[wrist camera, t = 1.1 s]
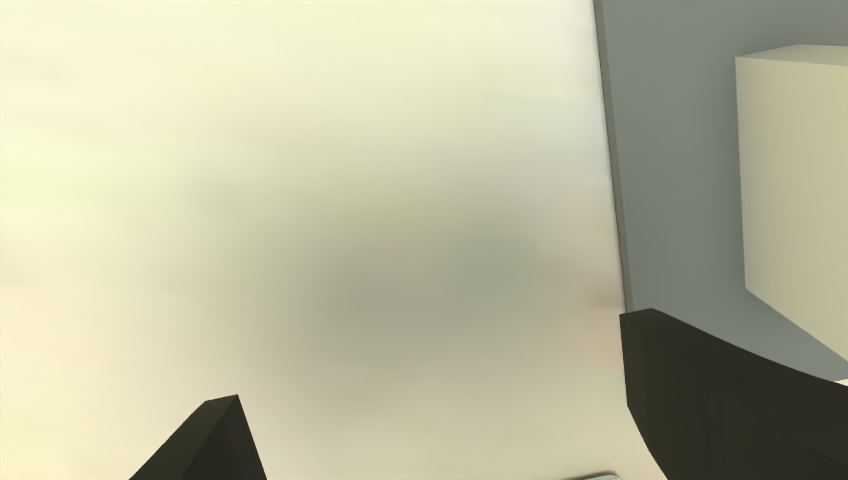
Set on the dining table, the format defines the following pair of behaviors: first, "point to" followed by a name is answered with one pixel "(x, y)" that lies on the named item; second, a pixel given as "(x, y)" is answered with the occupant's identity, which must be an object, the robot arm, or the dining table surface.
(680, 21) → the tile mat
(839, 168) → the tile
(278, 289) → the dining table surface
